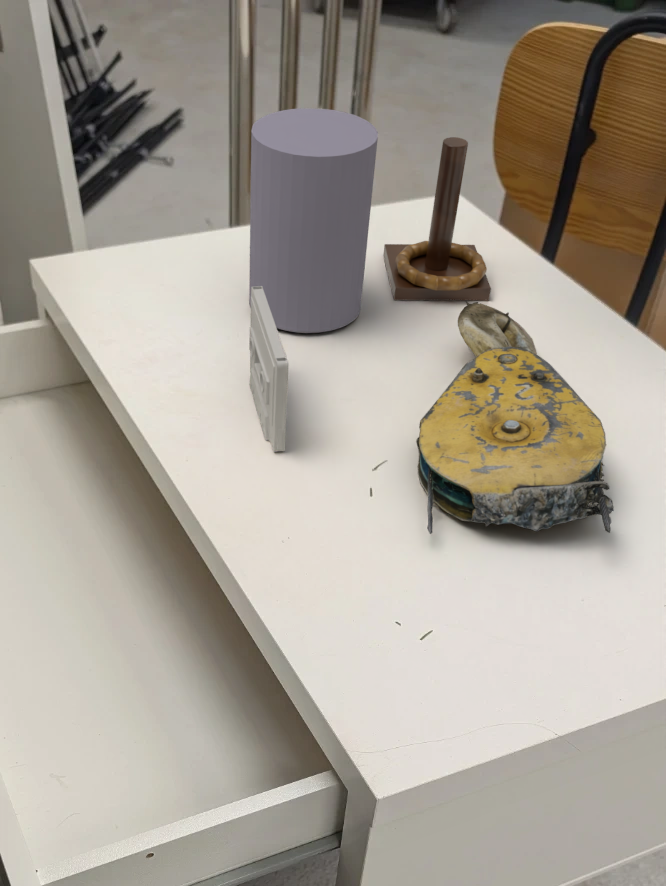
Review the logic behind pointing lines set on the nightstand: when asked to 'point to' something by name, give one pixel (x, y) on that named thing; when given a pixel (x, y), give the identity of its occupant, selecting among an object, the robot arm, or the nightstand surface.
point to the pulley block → (511, 436)
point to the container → (311, 215)
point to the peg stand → (439, 237)
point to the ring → (441, 281)
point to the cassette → (268, 370)
